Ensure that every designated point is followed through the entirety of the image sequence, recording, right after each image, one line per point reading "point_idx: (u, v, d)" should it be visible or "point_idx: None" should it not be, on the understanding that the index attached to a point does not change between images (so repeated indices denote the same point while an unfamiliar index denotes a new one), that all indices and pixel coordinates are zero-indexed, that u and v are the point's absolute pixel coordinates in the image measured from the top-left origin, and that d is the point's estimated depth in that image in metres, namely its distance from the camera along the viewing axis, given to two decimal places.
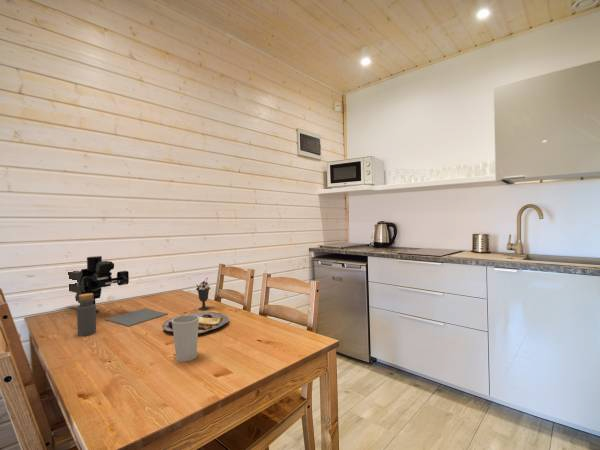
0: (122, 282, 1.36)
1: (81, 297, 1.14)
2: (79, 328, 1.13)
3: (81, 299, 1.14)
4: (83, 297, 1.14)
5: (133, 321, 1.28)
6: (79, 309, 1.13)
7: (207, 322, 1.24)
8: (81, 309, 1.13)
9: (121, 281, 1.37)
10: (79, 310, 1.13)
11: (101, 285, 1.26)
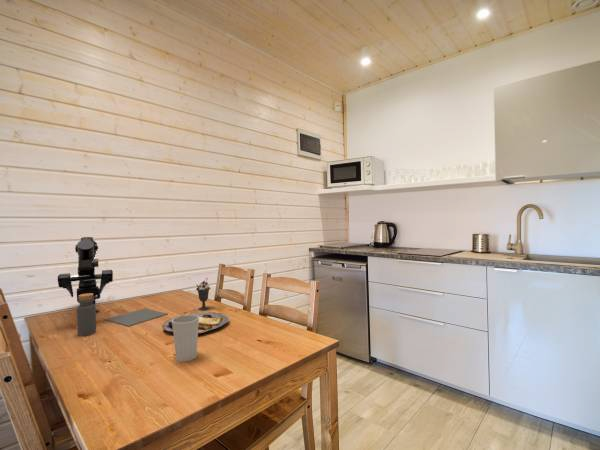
0: None
1: (81, 297, 1.14)
2: (79, 328, 1.13)
3: (81, 299, 1.14)
4: (83, 297, 1.14)
5: (133, 321, 1.28)
6: (79, 309, 1.13)
7: (207, 322, 1.24)
8: (81, 309, 1.13)
9: None
10: (79, 310, 1.13)
11: (70, 294, 1.20)
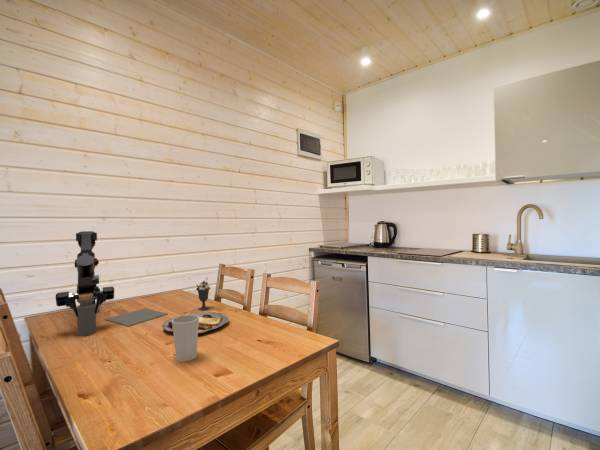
0: None
1: (81, 297, 1.14)
2: (79, 328, 1.13)
3: (81, 299, 1.14)
4: (83, 297, 1.14)
5: (133, 321, 1.28)
6: (79, 309, 1.13)
7: (207, 322, 1.24)
8: (81, 309, 1.13)
9: None
10: (79, 310, 1.13)
11: (74, 313, 1.14)
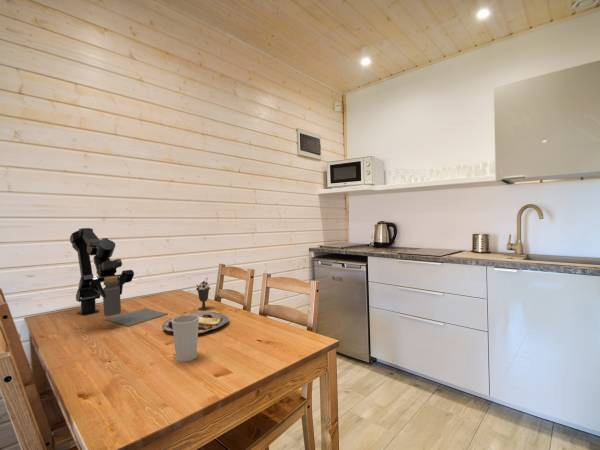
0: None
1: (108, 279, 1.19)
2: (107, 308, 1.19)
3: (108, 281, 1.19)
4: (110, 279, 1.19)
5: (133, 321, 1.28)
6: (106, 290, 1.19)
7: (207, 322, 1.24)
8: (109, 290, 1.19)
9: (118, 284, 1.26)
10: (107, 291, 1.19)
11: (101, 294, 1.19)
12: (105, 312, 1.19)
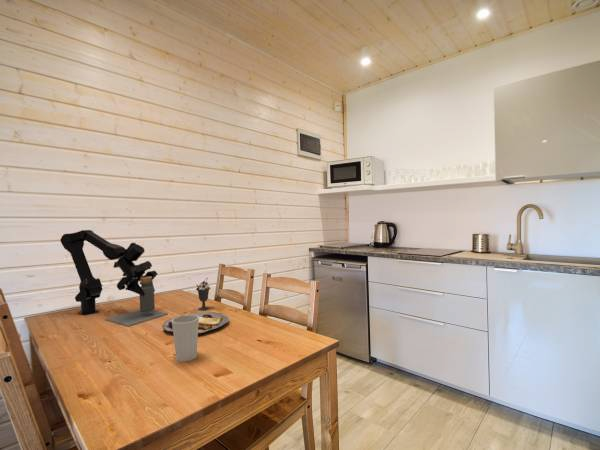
0: None
1: (147, 279, 1.34)
2: (146, 305, 1.34)
3: (146, 281, 1.34)
4: (148, 279, 1.34)
5: (133, 321, 1.28)
6: (146, 289, 1.33)
7: (207, 322, 1.24)
8: (148, 289, 1.34)
9: None
10: (147, 290, 1.33)
11: (140, 293, 1.32)
12: (144, 309, 1.33)
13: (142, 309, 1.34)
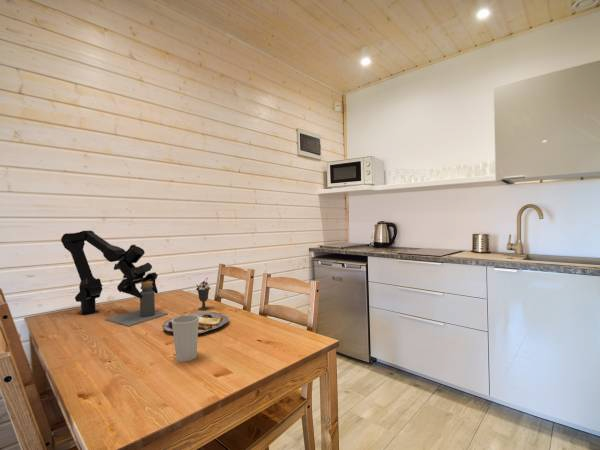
0: None
1: (147, 284, 1.34)
2: (147, 310, 1.34)
3: (147, 285, 1.34)
4: (149, 283, 1.35)
5: (133, 321, 1.28)
6: (147, 294, 1.34)
7: (207, 322, 1.24)
8: (149, 293, 1.34)
9: None
10: (147, 294, 1.34)
11: (137, 296, 1.31)
12: (144, 313, 1.33)
13: (142, 314, 1.34)
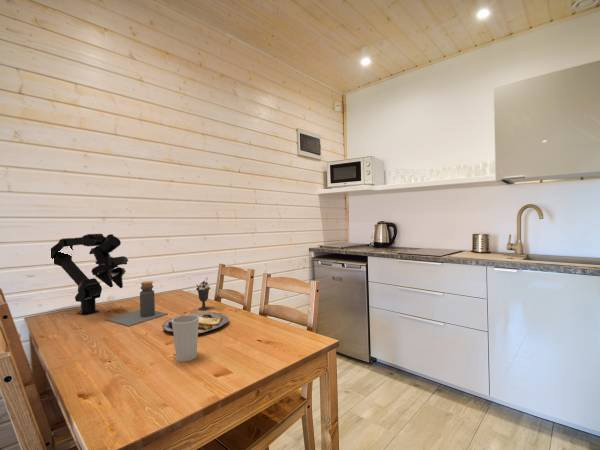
0: (115, 281, 1.42)
1: (147, 284, 1.34)
2: (147, 310, 1.34)
3: (147, 285, 1.34)
4: (149, 283, 1.35)
5: (133, 321, 1.28)
6: (147, 294, 1.34)
7: (207, 322, 1.24)
8: (149, 293, 1.34)
9: (116, 278, 1.43)
10: (147, 294, 1.34)
11: (108, 284, 1.32)
12: (144, 313, 1.33)
13: (142, 314, 1.34)
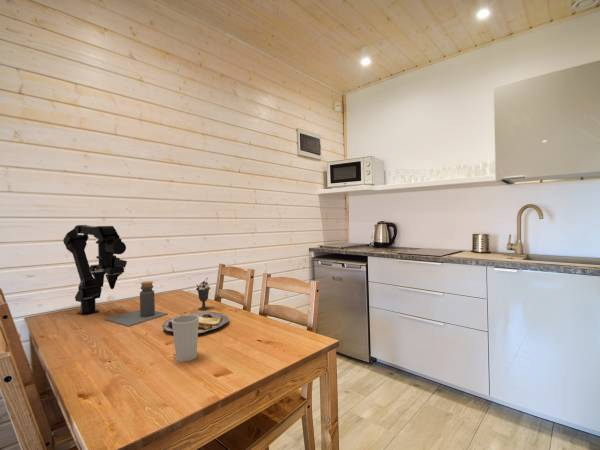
0: (98, 278, 1.38)
1: (147, 284, 1.34)
2: (147, 310, 1.34)
3: (147, 285, 1.34)
4: (149, 283, 1.35)
5: (133, 321, 1.28)
6: (147, 294, 1.34)
7: (207, 322, 1.24)
8: (149, 293, 1.34)
9: (99, 275, 1.38)
10: (147, 294, 1.34)
11: (112, 285, 1.33)
12: (144, 313, 1.33)
13: (142, 314, 1.34)
